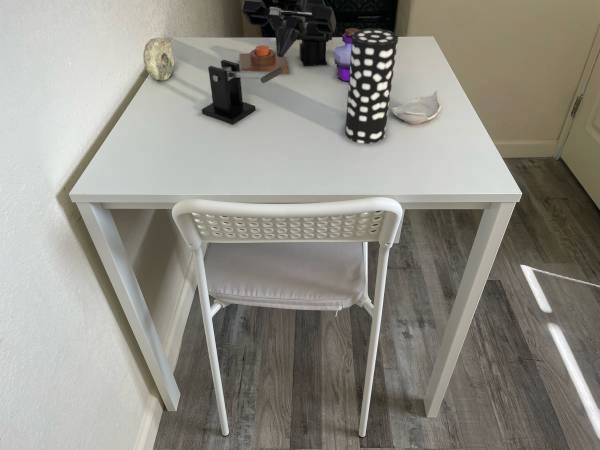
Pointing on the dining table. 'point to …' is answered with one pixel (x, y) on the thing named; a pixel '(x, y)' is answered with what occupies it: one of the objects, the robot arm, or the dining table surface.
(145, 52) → the stone ring
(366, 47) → the white-spotted black cylinder
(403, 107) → the pottery shard
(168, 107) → the dining table surface
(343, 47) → the potion bottle
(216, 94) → the bracket
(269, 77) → the lever
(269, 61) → the control block
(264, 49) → the button
